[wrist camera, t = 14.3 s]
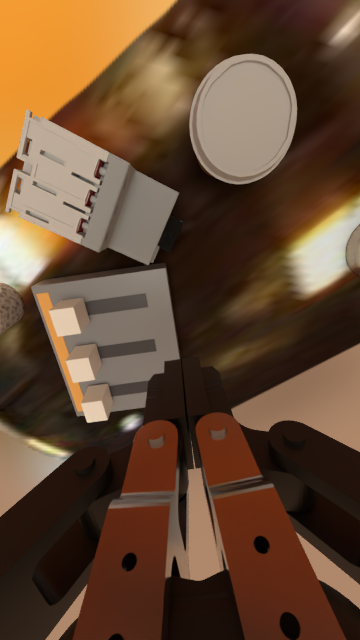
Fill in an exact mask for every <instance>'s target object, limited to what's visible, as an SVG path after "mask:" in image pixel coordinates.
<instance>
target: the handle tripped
mask: <svg viewBox="0 0 360 640" xmlns="http://www.w3.org/2000/svg"><path fill="white" fill-rule="evenodd" d="M66 364H67V367H68V370H69V373H70V376H71V378H72V381H73V383H77V382H84V381H91V380H95V379H96V377H97V374H98V372H99V370H100V367H101V365H102V363H101V359H100V356H99V353H98V349H97V346H96V344H89V345H81V346H75V348H74V349H73V350H72V352H71V353H70V355H69V356H68V358H67V359H66Z"/></svg>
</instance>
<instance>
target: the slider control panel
mask: <svg viewBox="0 0 360 640" xmlns="http://www.w3.org/2000/svg"><path fill="white" fill-rule="evenodd" d="M31 289H32V292H33V294H34V297H35V300H36V303H37V305H38V308H39V311H40V314H41V317H42V319H43V322H44V325H45V328H46V330H47V333H48V336H49V339H50V342H51V344H52V347H53V350H54V353H55V355H56V358H57V361H58V364H59V367H60V369H61V372H62V375H63V378H64V380H65V383H66V386H67V389H68V392H69V394H70V397H71V400H72V403H73V405H74V408H75V411H76V414H77V416H83V415H84V412H83V409H82V406H81V402H82V399H83V397H84V395H85V393H86V391H87V388H88V386H93V385H101V384H108V386H109V390H110V393H111V396H112V400H113V403H112V407H111V410H110V412H113V411H120V410H128V409H135V408H142V407H145V405H146V396H147V387H148V382H149V380H150V379H151V377H152V376H153V375H154V374H159V373H164V361H170V360H177V359H180V352H179V346H178V339H177V332H176V326H175V319H174V313H173V306H172V300H171V293H170V287H169V280H168V273H167V267H166V263H159V264H152V265H145V266H138V267H131V268H124V269H117V270H110V271H103V272H96V273H89V274H82V275H75V276H68V277H61V278H54V279H47V280H43V281H41V282H39V283H37V284H36V285H34V286H32V287H31ZM82 297H83V299H84V302H85V306H86V309H87V313H88V316H89V320H90V322H89V323H88V325H87V326H86V327H85V329H84V330H83V332H82V333H81V334H74V335H67V336H60V337H57V334H56V331H55V328H54V325H53V322H52V319H51V316H50V313H49V310H50V309H51V308H53V307H54V306H55V305H56V304H57V303H59V302H60V301H61V300H68V299H75V298H82ZM89 344H96V346H97V349H98V353H99V356H100V359H101V363H102V365H101V367H100V370H99V372H98V374H97V377H96V379H95V380H91V381H84V382H77V383H73V381H72V378H71V376H70V373H69V370H68V367H67V364H66V359H67V358H68V356H69V355H70V353H71V352H72V350H73V349H74V348H75V346H81V345H89Z"/></svg>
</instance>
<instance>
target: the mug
mask: <svg viewBox="0 0 360 640" xmlns="http://www.w3.org/2000/svg"><path fill="white" fill-rule="evenodd" d="M24 312H25V304H24V301H23V299H22V297H21V295H20V294H19V293H18V292H17V291H16V290H15V289H14V288H12V287H11V286H9V285H7V284H4V283H0V334H2V333H3V332H4V331H6V330H7V329H8V328H10V327H11V326H12V325H14V324H15V323H17V322H18V321H19V320H20V319H21V318H22V317H23V315H24Z"/></svg>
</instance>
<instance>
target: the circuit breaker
mask: <svg viewBox="0 0 360 640" xmlns="http://www.w3.org/2000/svg"><path fill="white" fill-rule="evenodd" d="M31 117H32V112H31V111H29V110H27V111H26V115H25V120H24V125H23V130H22V134H21V139H20V144H19V148H18V153H17V158H19V159H21V160H23V161H25V162H24V167H23V171H22V170H18V169H14V172H13V177H12V181H11V186H10V191H9V195H8V200H7V205H6V210H5V211H6V212H11V209H13V210H14V211H16V212H19V217H20V218H22V219H24V220H27V221H29V222H31V223H33V224H36V225H38V226H40V227H42V228H45V229H47V230H49V231H51V232H54V233H56V234H58V235H60V236H63V237H65V238H67V239H70V240H72V241H74V242H76V243H79V244H81V245H83V246H85V247H88V248H90V249H92V250H94V251H97V252H101V251H102V250H104V249H106V248H107V247H108V248H111V249H113V250H115V251H118V252H120V253H122V254H124V255H126V256H129V257H131V258H133V259H135V260H138V261H140V262H142V263H144V264H147V265H149V263H150V262H152V263H153V261H154V259H155V257H156V254H157V252H158V250H159V248H161V249H163V250H165V251H167V252H171V250H172V247H173V244H174V242H175V239H176V237H177V235H178V232H180V229H181V227H182V225H183V223H184V222H183V221H181V220H179V219H177V218H175V217H173V215H171V211H172V209H173V206H174V204H175V202H176V199H177V197H178V195H179V193H178V192H176V191H174V190H172V189H170V188H169V187H167V186H165V185H163V184H161V183H159V182H157V181H155V180H153V179H151V178H149V177H147V176H146V175H144V174H142V173H140V172H138V171H136V170H135V169H134V168H133V167H132V165H131V164H130V163H128V162H127V161H125V160H123V159H121V158H119V157H117V156H115V155H113V154H111V153H109V152H108V151H106V150H104V149H102V148H100V147H98V146H96V145H94V144H92V143H90V142H88V141H87V140H85V139H83V138H81V137H79V136H77V135H75V134H73V133H71V132H69V131H67V130H66V129H64V128H62V127H60V126H58V125H56V124H54V123H52V122H50V121H48V120H46V119H44V118H43V117H42V118H39V117H37V116H35V115H34V118H33V119H32V118H31ZM28 140H30V145H29V150H28V154H27V153H25V150H26V145H27V141H28ZM19 178H20V179H22V181H21V185H20V190H19V189H17V186H18V181H19Z"/></svg>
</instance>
